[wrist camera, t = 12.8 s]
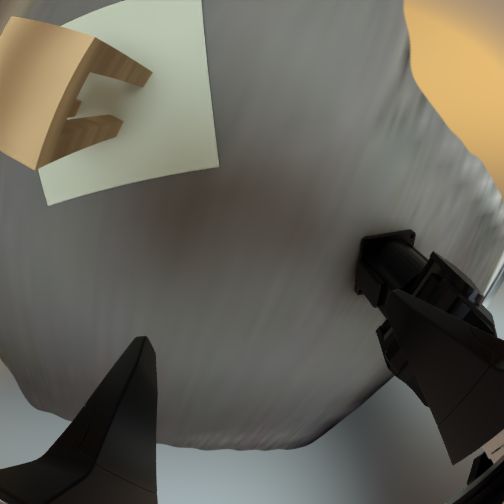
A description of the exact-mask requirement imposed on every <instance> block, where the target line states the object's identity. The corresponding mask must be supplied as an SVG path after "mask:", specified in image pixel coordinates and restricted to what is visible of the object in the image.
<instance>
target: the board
mask: <svg viewBox="0 0 504 504" xmlns="http://www.w3.org/2000/svg"><path fill="white" fill-rule="evenodd" d="M60 27H64V28H68V29H71V30H75V31H78V32H81V33H84V34H87V35H90V36H93V37H96V38H98V39H99V40H101V41H103V42H105V43H106V44H108V45H110V46H112V47H113V48H115V49H117V50H118V51H120V52H122V53H123V54H125V55H127V56H128V57H130V58H131V59H133V60H135V61H136V62H138V63H139V64H141V65H142V66H144V67H146V68H147V69H149V70H150V71H152V72H153V73H152V75H151V76H150V78H149V79H148V81H147V83H146V84H145V86H144V87H140V86H137V85H134V84H131V83H127V82H124V81H121V80H117V79H114V78H110V77H107V76H103V75H99V74H95V73H91V72H90V73H89V75H88V77H87V79H86V81H85V82H84V84H83V86H82V88H81V90H80V92H79V94H78V96H77V98H76V99H78V100H80V101H82V103H81V105H80V107H79V109H78V111H77V114H76V116H75V117H70V118H67V120H70V119H76V118H84V117H91V116H100V115H112V116H114V117H116V118H118V119H121V120H123V121H124V123H123V124H122V126H121V128H120V130H119V132H118V134H117V136H116V137H114V138H111V139H108V140H106V141H103V142H100V143H97V144H95V145H92V146H89V147H87V148H84V149H82V150H79V151H77V152H74V153H72V154H70V155H67V156H65V157H63V158H60V159H58V160H56V161H54V162H52V163H49V164H47V165H45V166H43V167H41V168H39V169H38V170H39V175H40V179H41V182H42V186H43V190H44V193H45V197H46V200H47V204H48V206H49V205H52V204H56V203H59V202H62V201H65V200H69V199H72V198H75V197H79V196H82V195H86V194H90V193H93V192H97V191H101V190H105V189H109V188H113V187H117V186H121V185H125V184H129V183H134V182H138V181H143V180H148V179H152V178H157V177H162V176H167V175H173V174H178V173H184V172H189V171H195V170H201V169H208V168H214V167H219V160H218V152H217V144H216V136H215V128H214V120H213V112H212V103H211V94H210V85H209V76H208V67H207V57H206V47H205V37H204V26H203V16H202V4H201V0H125V1H122V2H119V3H116V4H113V5H110V6H107V7H104V8H101V9H99V10H96V11H94V12H91V13H89V14H86V15H84V16H81V17H79V18H77V19H75V20H72V21H70V22H68V23H66V24H64V25H62V26H60Z"/></svg>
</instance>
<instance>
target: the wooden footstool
mask: <svg viewBox="0 0 504 504" xmlns="http://www.w3.org/2000/svg"><path fill="white" fill-rule="evenodd" d="M90 72H91V73H95V74H99V75H103V76H107V77H110V78H114V79H117V80H121V81H124V82H127V83H131V84H134V85H137V86H140V87H144V86H145V84H146V83H147V81H148V79H149V78H150V76H151V75H152V73H153V72H152V71H150V70H149V69H147V68H146V67H144V66H142V65H141V64H139V63H138V62H136V61H135V60H133V59H131V58H130V57H128V56H127V55H125V54H123V53H122V52H120V51H118V50H117V49H115V48H113V47H112V46H110V45H108V44H106V43H105V42H103V41H101V40H99V39H98V38H96V37H93V36H90V35H87V34H84V33H81V32H78V31H75V30H71V29H68V28H64V27H60V26H57V25H53V24H49V23H44V22H40V21H35V20H30V19H25V18H19V17H13V16H12V17H11V18H10V20H9V22H8V24H7V25H6V27H5V29H4V31H3V33H2V34H1V36H0V151H1V152H3V153H5V154H7V155H8V156H10V157H12V158H14V159H15V160H17V161H19V162H21V163H22V164H24V165H26V166H28V167H29V168H31V169H33V170H37V169H39V168H41V167H43V166H45V165H47V164H49V163H52V162H54V161H56V160H58V159H60V158H63V157H65V156H67V155H70V154H72V153H74V152H77V151H79V150H82V149H84V148H87V147H89V146H92V145H95V144H97V143H100V142H103V141H106V140H108V139H111V138H114V137H116V136H117V134H118V132H119V130H120V128H121V126H122V124H123V123H124V121H123V120H121V119H118V118H116V117H114V116H112V115H100V116H91V117H84V118H76V119H70V120H67V118H70V117H75V116H76V114H77V111H78V109H79V107H80V105H81V103H82V101H80V100H78V99H76V98H77V96H78V94H79V92H80V90H81V88H82V86H83V84H84V82H85V81H86V79H87V77H88V75H89V73H90Z"/></svg>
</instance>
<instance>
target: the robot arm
mask: <svg viewBox="0 0 504 504" xmlns="http://www.w3.org/2000/svg"><path fill="white" fill-rule="evenodd" d="M415 235H416V234H415V232H414V231H412V230H407V231H401V232H395V233H389V234H382V235H376V236H370V237H365V238H364V239H363V240H362V242H361V249H360V257H359V261H358V265H357V272H356V279H355V283H356V285H355V292H356V294H357V295H362V294H364V295H365V296H366V298H367V299H368V300H369V302H370V303H371V305H372V306H373V307H374V308H377V307H378V308H379V310H380V311H381V312H382V314H383V315H384V317H385V318H386V320H385V322H384V323H383V324H382V325H381V326H379V328H378V329H377V330H376V333H377V336H378V339H379V342H380V345H381V348H382V352H383V355H384V358H385V362H386V364H387V367H388V369H389V370H390V371H391V372H392V373H393V374H394V375H395V376H396V377H398V378H399V379H400V380H402V381H403V382H405V383H406V384H407V385H408V386H409V387H410V388H411V389H412V390H413V391H414V392H415V393H416V395H417V396H418V397H419V399H420V400H421V401H422V403H423V404H424V405H425V406H427V407H429V408H430V410H431V412H432V414H433V417H434V419H435V421H436V424H437V425H438V429H439V431H440V434H441V436H442V439H443V441H444V444H445V447H446V449H447V452H448V455H449V457H450V460H451V463H452V465H455V464H456V463H458V462H459V461H461V460H463V459H464V458H466V457H467V456H468V455H470V454H472V453H473V452H475V451H476V450H477V449H479V448H480V447H483V449H484V451H483V452H482V453H481V454H480V455H479V456H477V457H476V458H475V459H474V461H473V464H472V468H471V472H470V475H469V478H468V481H467V485H468V486H467V487H466V488H465V489H463V490H462V491H461V492H459V493H458V494H457V495H455V496H454V497H453V498H451V499H450V500H449V501H447V502H445V503H444V504H504V340H501V339H499V338H497V333H496V329H495V324H494V320H493V316H492V314H491V313H490V312H489V311H488V310H487V309H486V308H485V307H484V306H483V305H482V304H481V302H482V301H483V299H484V298H485V297H484V295H483V294H482V293H481V292H480V290H479V289H478V288H477V287H476V286H475V284H474V283H473V282H472V281H471V280H470V279H469V278H468V277H467V276H466V275H465V274H464V273H463V272H461V271H460V270H459V269H458V268H457V267H456V266H454V265H453V264H451V263H450V262H449V261H447V260H446V259H444V258H443V257H441V256H440V255H438V254H437V253H435V252H434V251H433V252H432V253H431V255H430V258H429V260H428V259H427V258H426V257H425V256H423V255H422V254H421V253H420V252H419V251H418V250H416V249H415V248H414V247H413V246H414V241H415ZM366 242H368V243H367V244H366ZM360 289H361V290H360ZM157 396H158V392H157V372H156V354H155V351H154V349H153V347H152V345H151V343H150V341H149V339H148V337H146V336H140V337H136V338H135V339H134V340H133V341H132V342H131V344H130V345H129V346H128V347H127V349H126V350H125V351H124V353H123V354H122V355H121V357H120V358H119V359H118V361H117V362H116V363H115V364H114V366H113V367H112V368H111V370H110V371H109V372H108V374H107V375H106V376H105V378H104V379H103V380H102V382H101V383H100V384H99V386H98V387H97V389H96V390H95V391H94V393H93V394H92V395H91V397H90V398H89V399H88V401H87V402H86V404H85V406H83V408H82V409H81V410H80V412H79V413H78V415H77V416H76V417H75V419H74V420H73V421H72V423H71V424H70V425H69V426H68V427H67V429H66V430H65V431H64V432H63V433H62V435H61V436H60V437H59V438H58V439H57V440H56V441H55V443H54V444H53V445H52V446H51V447H50V448H49V450H48V451H47V452H46V453H45V454H44V455H43V456H42V457H40V458H38V459H37V460H34V461H32V462H28V463H25V464H20V465H16V466H12V467H8V468H4V469H0V499H1V500H2V501H4V503H3V502H0V504H158V502H157V484H156V421H157Z"/></svg>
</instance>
